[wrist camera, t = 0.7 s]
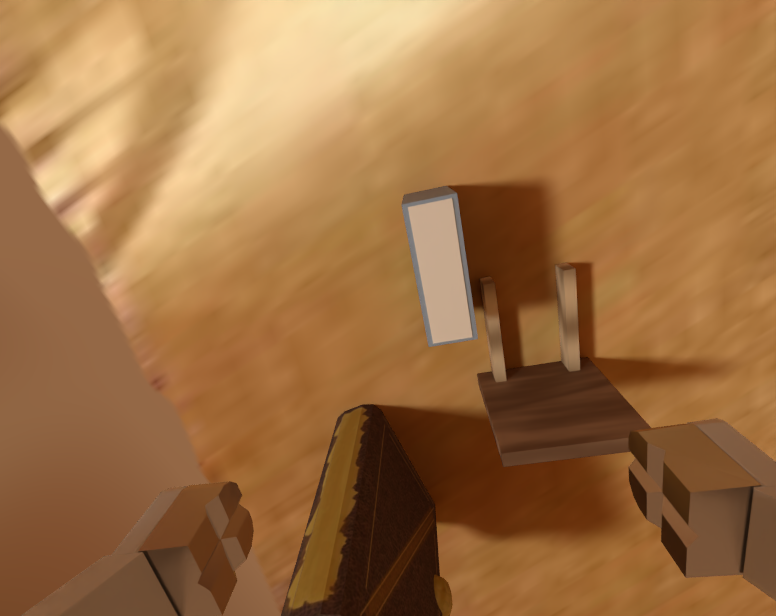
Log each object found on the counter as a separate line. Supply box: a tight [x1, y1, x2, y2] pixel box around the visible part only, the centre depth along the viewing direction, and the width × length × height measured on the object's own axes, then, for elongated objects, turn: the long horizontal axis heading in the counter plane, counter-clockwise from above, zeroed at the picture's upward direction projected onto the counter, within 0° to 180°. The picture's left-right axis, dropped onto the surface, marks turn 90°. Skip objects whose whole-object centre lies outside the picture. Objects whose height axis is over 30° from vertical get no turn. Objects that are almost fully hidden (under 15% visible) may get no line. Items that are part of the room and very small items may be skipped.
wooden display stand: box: [477, 263, 651, 467], centre depth 39 cm, size 14×13×14 cm
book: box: [281, 405, 452, 616], centre depth 42 cm, size 22×8×25 cm, turn 26°
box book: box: [402, 186, 478, 347], centre depth 38 cm, size 13×4×10 cm, turn 12°
